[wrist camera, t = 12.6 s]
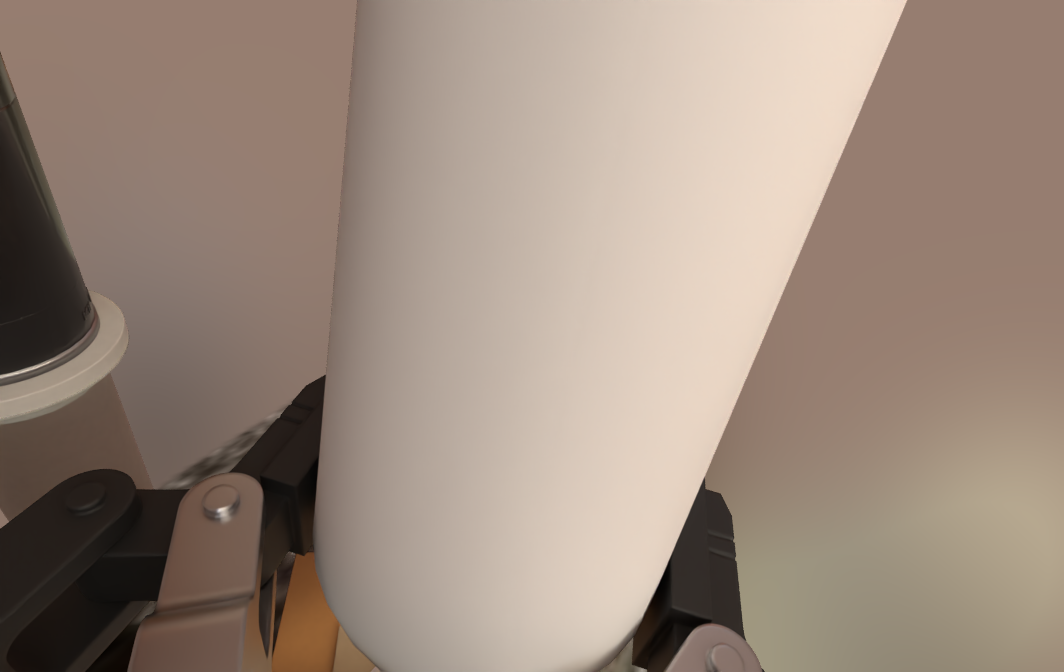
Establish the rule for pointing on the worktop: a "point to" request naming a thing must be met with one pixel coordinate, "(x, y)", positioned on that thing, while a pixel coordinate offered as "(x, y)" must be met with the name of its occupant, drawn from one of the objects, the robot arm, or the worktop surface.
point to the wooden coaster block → (312, 629)
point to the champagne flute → (557, 301)
